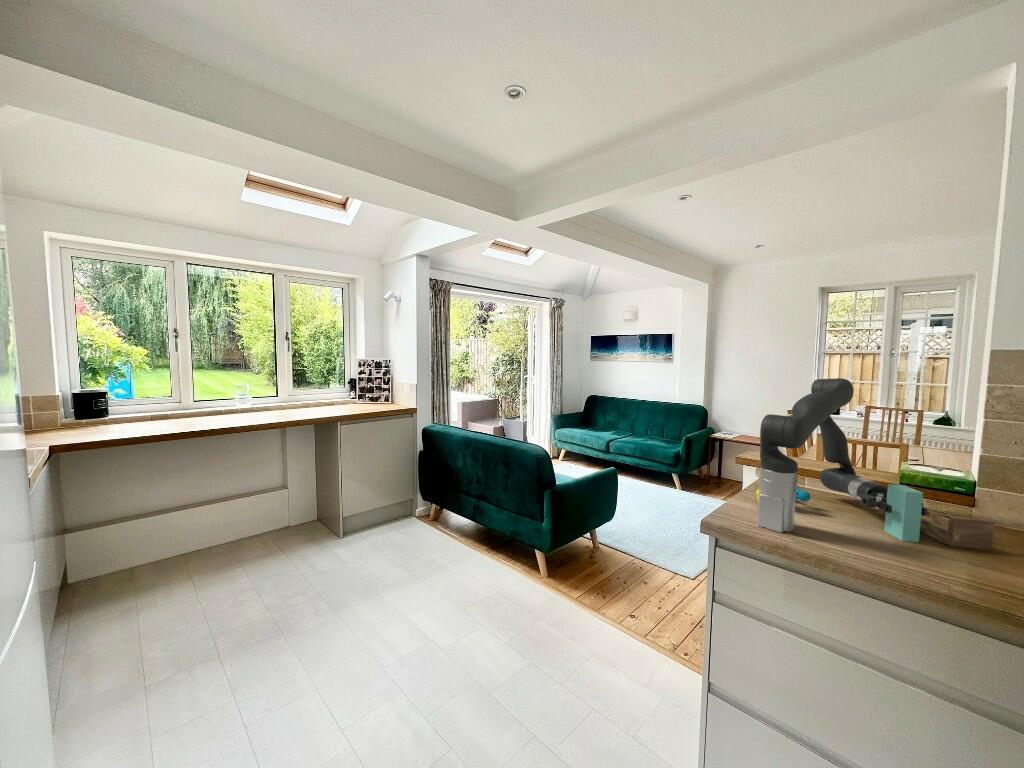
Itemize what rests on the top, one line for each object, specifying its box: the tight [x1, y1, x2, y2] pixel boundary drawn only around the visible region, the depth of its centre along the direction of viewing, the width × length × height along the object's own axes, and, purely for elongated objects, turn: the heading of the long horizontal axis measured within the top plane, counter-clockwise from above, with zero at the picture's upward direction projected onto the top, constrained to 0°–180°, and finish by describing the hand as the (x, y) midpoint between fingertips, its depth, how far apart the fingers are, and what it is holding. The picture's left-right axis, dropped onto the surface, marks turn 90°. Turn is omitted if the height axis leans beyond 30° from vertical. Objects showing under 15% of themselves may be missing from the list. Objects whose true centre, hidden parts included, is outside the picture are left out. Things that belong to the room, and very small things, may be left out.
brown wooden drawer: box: [920, 512, 995, 551], centre depth 119 cm, size 18×9×8 cm, turn 169°
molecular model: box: [755, 484, 812, 503], centre depth 142 cm, size 15×10×15 cm
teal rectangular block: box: [883, 483, 924, 543], centre depth 117 cm, size 7×4×14 cm, turn 169°
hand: (907, 511), depth 115 cm, fingers open, 8 cm apart
